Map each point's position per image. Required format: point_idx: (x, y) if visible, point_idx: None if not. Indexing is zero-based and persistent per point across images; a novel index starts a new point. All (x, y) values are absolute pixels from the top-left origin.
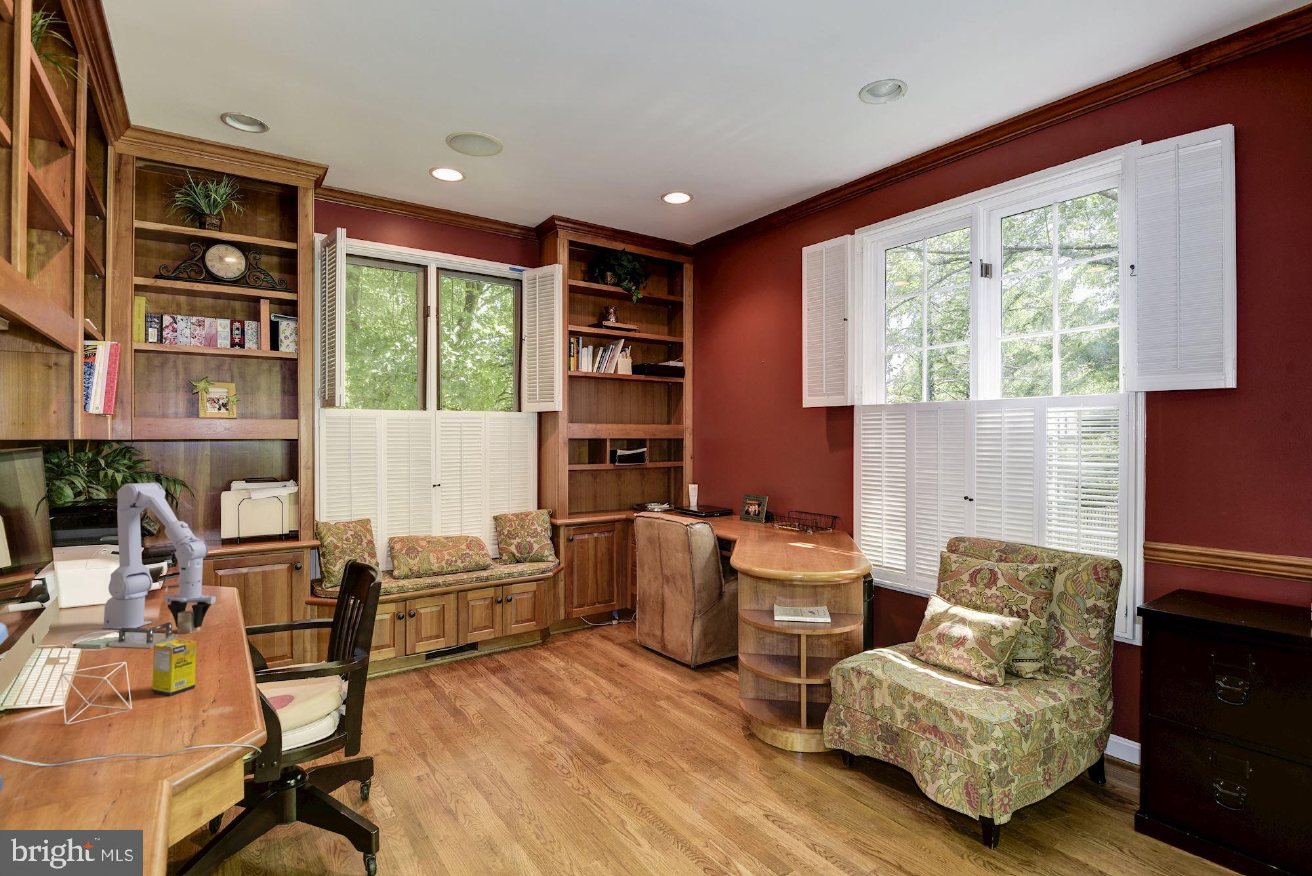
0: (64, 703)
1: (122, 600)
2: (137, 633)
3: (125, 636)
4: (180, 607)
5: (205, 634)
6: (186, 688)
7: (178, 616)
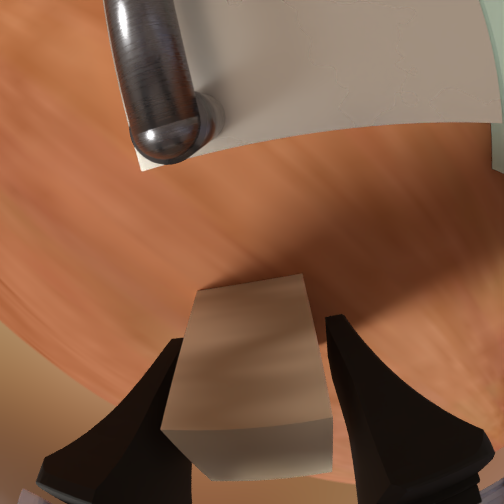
0: None
1: None
2: (486, 92)
3: (492, 27)
4: (366, 479)
5: (95, 300)
6: None
7: (320, 383)
